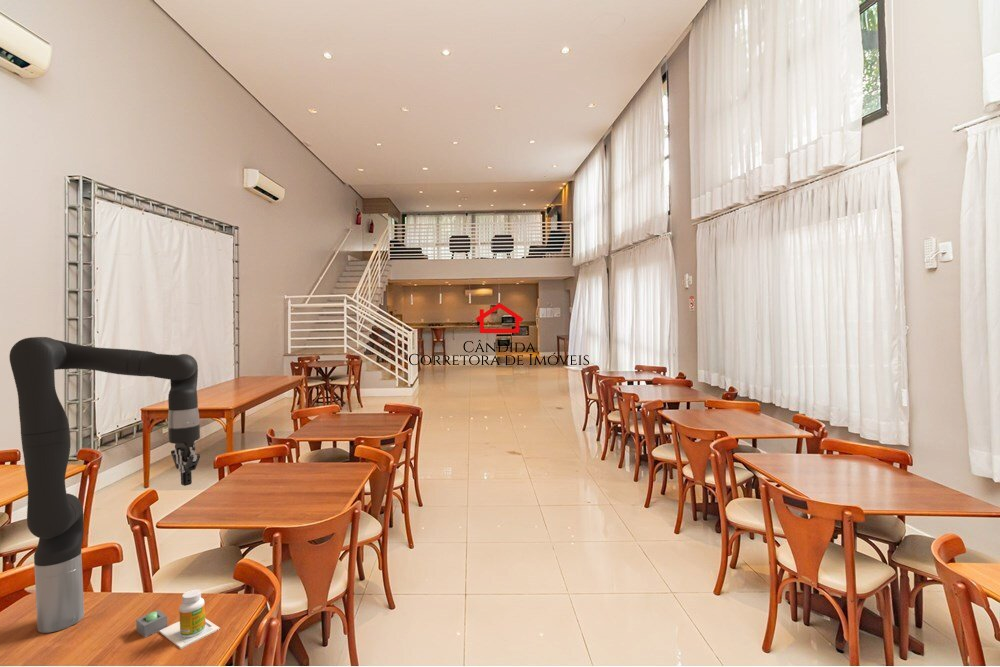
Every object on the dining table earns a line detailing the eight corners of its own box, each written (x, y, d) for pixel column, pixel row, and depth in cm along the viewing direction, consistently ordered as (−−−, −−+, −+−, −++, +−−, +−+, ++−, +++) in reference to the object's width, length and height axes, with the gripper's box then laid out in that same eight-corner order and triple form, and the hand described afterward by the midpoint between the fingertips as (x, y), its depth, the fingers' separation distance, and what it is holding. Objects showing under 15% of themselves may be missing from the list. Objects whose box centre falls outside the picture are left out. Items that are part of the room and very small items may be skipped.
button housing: (136, 631, 126) (136, 619, 126) (159, 621, 130) (158, 609, 130) (144, 637, 123) (144, 625, 123) (167, 627, 127) (166, 615, 127)
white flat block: (159, 632, 125) (159, 630, 125) (197, 614, 133) (197, 612, 133) (181, 649, 118) (180, 647, 118) (219, 629, 126) (219, 627, 126)
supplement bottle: (193, 639, 121) (192, 600, 121) (174, 637, 122) (173, 598, 122) (210, 626, 126) (209, 588, 126) (192, 624, 127) (191, 586, 127)
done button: (144, 627, 126) (144, 615, 126) (155, 622, 128) (154, 610, 128) (148, 630, 125) (148, 618, 125) (159, 625, 127) (158, 613, 127)
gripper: (209, 424, 140) (211, 484, 141) (187, 419, 148) (189, 477, 148) (180, 429, 134) (182, 492, 135) (159, 424, 142) (161, 484, 142)
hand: (186, 484), depth 141 cm, fingers closed
